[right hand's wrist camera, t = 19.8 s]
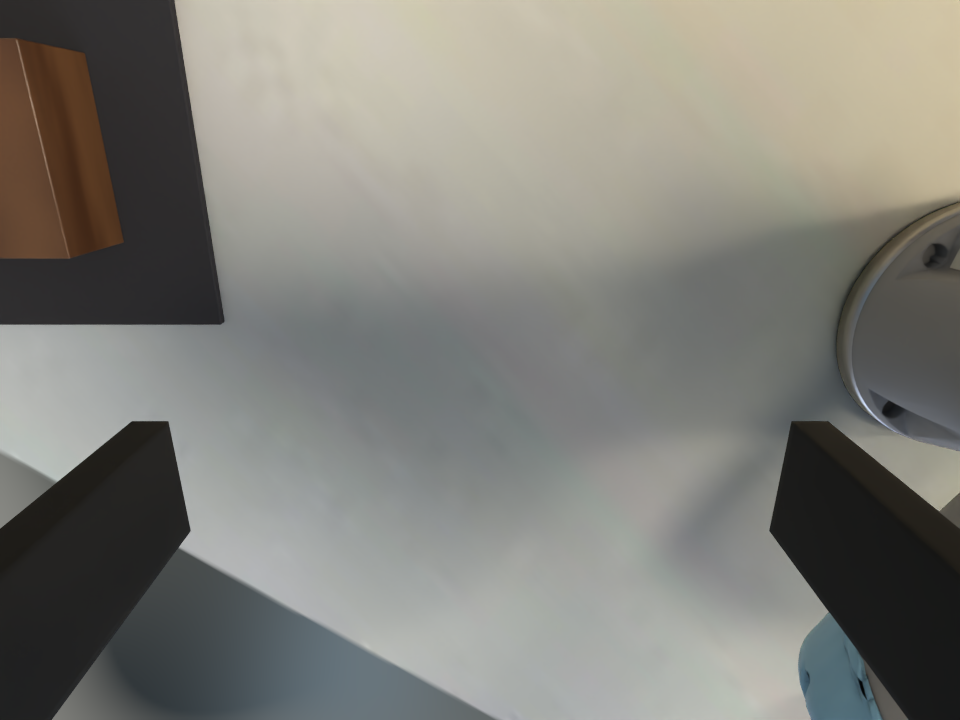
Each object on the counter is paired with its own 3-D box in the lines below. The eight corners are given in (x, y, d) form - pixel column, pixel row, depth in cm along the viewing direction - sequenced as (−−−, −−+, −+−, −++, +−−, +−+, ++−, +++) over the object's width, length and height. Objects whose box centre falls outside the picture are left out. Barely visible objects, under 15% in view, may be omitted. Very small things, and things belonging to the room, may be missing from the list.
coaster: (165, -55, 30) (160, -58, 30) (224, 322, 37) (221, 324, 37) (-227, -55, 30) (-240, -58, 30) (-94, 322, 37) (-103, 324, 37)
